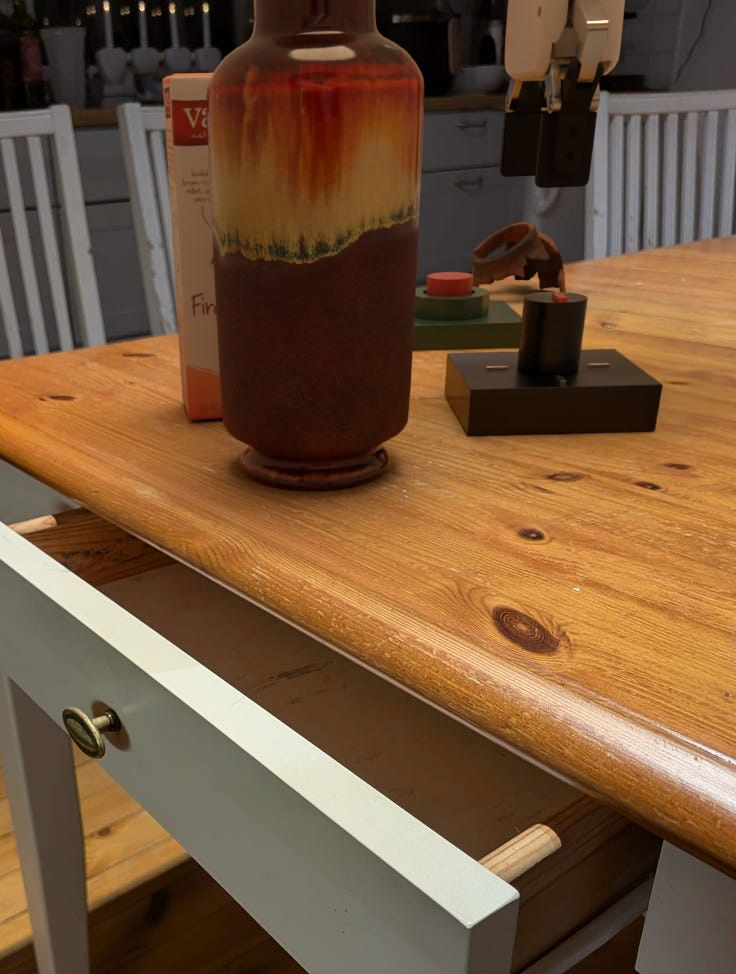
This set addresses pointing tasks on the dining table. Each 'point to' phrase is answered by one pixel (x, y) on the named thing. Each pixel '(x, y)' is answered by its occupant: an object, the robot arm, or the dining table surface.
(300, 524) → the dining table surface
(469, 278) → the button
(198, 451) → the dining table surface
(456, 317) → the block
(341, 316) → the vase
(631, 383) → the dial console
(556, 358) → the browning dial
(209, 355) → the cracker box
